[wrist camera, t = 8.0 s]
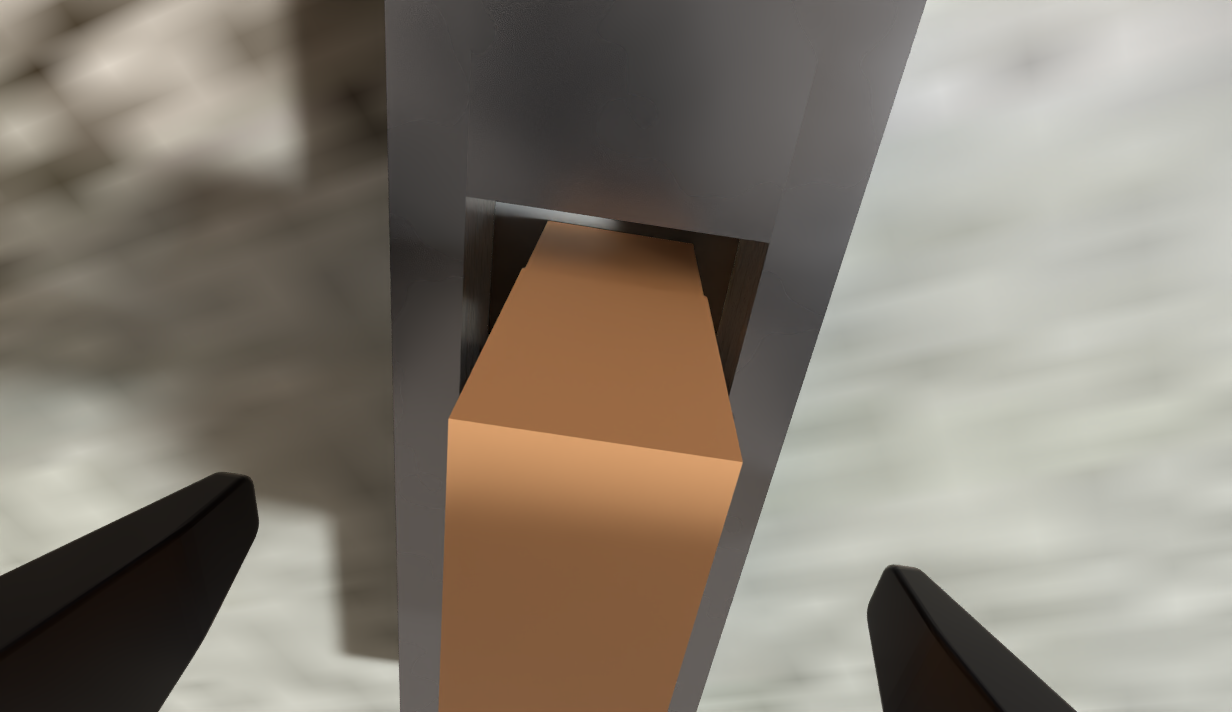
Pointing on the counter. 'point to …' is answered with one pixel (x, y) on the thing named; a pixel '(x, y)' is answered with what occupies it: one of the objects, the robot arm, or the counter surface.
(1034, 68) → the counter surface
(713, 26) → the rail
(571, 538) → the clip
